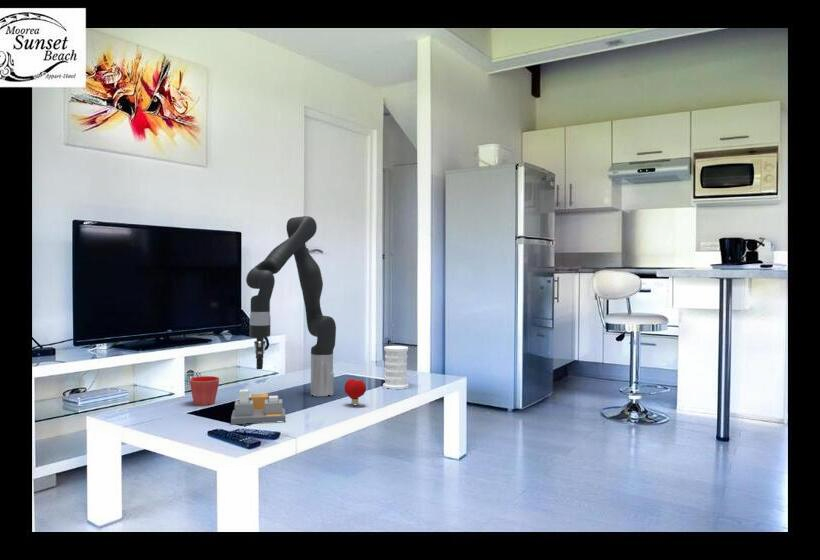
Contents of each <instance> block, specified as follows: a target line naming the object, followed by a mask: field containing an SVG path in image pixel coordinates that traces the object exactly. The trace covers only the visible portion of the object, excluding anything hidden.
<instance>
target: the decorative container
mask: <svg viewBox="0 0 820 560" xmlns="http://www.w3.org/2000/svg"><path fill="white" fill-rule="evenodd" d="M383 350H384V351H385V355H384V358H385V361H384V366H385V367H384V375H385V376H384V381H385V382H384V383H383V384H382V387H383V386H384V387H387V388H406V387H408V386H409V383H408V382H407V381H408V375H407V372H408V369H407V368H408V367H407V366H408V361H407V359H408V354H407V353H408V351H409V347H408V346H404V345H386V346H384V347H383ZM408 388H409V387H408Z"/></svg>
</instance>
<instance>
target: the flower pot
mask: <svg viewBox="0 0 820 560" xmlns="http://www.w3.org/2000/svg"><path fill="white" fill-rule="evenodd" d="M219 384H220V378H219V377H217V376H213V375H212V376H211V375H207V376H206V375H205V376H203V375H202V376H194V377H191V378H190V379H189V385H190V386H189V387H190V389H191V390H190V391H191V395H192V396H191V397H192V401H193V404H194V405H195V404H196V405H195V406H209V405H208V404H211V405H213V403H214V404H215V403H216V398H217V395H218V389H219Z"/></svg>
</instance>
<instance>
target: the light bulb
mask: <svg viewBox="0 0 820 560" xmlns="http://www.w3.org/2000/svg"><path fill="white" fill-rule="evenodd" d="M366 389H367V387H366V383H365V382H364V381H363V380H361V379H359V380H356V379H354V378H350V379H347V380H346V382H345V384H344V392H345V393H346V395H347V397H348V398H349V399H351V404H352V405H353V404H357V405H358V404H359V398H360V397H362V396H364V395H365V393H366Z"/></svg>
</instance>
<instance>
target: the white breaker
mask: <svg viewBox="0 0 820 560" xmlns="http://www.w3.org/2000/svg"><path fill="white" fill-rule="evenodd" d="M278 399H279V395H268V400H269V403H272V402H278Z"/></svg>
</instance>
